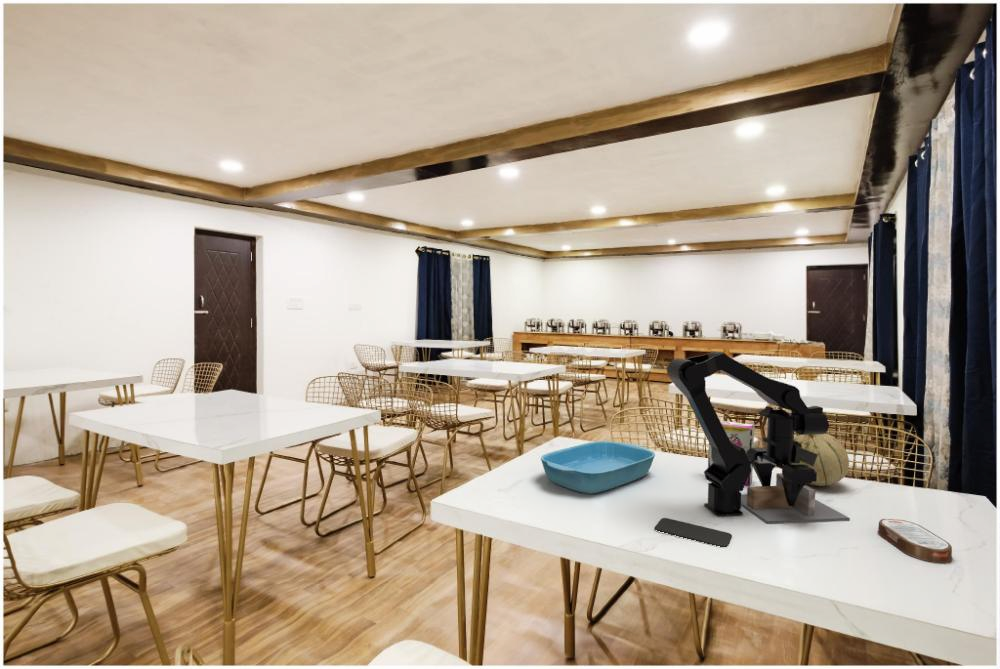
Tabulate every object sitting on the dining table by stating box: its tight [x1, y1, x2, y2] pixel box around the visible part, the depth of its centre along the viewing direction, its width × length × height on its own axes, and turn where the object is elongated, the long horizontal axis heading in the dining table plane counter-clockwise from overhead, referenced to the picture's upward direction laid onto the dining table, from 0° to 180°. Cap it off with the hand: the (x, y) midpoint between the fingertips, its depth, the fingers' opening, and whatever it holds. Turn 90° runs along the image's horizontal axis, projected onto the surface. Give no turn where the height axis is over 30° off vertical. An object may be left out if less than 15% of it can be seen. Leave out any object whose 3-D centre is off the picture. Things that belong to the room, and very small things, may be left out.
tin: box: [877, 518, 953, 564], centre depth 105 cm, size 15×3×8 cm
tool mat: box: [741, 493, 851, 525], centre depth 124 cm, size 20×16×1 cm
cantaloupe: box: [791, 433, 850, 487], centre depth 140 cm, size 15×15×15 cm
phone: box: [654, 517, 733, 548], centre depth 111 cm, size 7×1×15 cm
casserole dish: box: [540, 440, 656, 495], centre depth 146 cm, size 37×22×7 cm, turn 131°
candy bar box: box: [707, 420, 755, 487], centre depth 143 cm, size 11×5×16 cm, turn 58°
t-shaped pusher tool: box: [746, 472, 816, 516], centre depth 124 cm, size 12×12×6 cm
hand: (778, 498), depth 124 cm, fingers open, 9 cm apart
